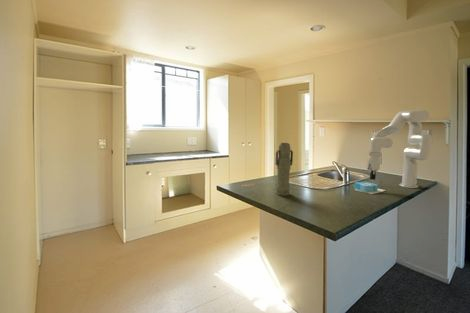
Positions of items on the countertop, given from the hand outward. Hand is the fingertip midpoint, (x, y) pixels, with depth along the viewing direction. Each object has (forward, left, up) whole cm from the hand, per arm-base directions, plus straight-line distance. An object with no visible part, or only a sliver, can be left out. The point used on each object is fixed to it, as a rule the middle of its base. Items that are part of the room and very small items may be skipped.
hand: (372, 179), depth 199 cm
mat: (+2, 0, -8) cm, 9 cm away
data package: (-1, 0, -5) cm, 6 cm away
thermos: (+66, -25, -9) cm, 71 cm away
